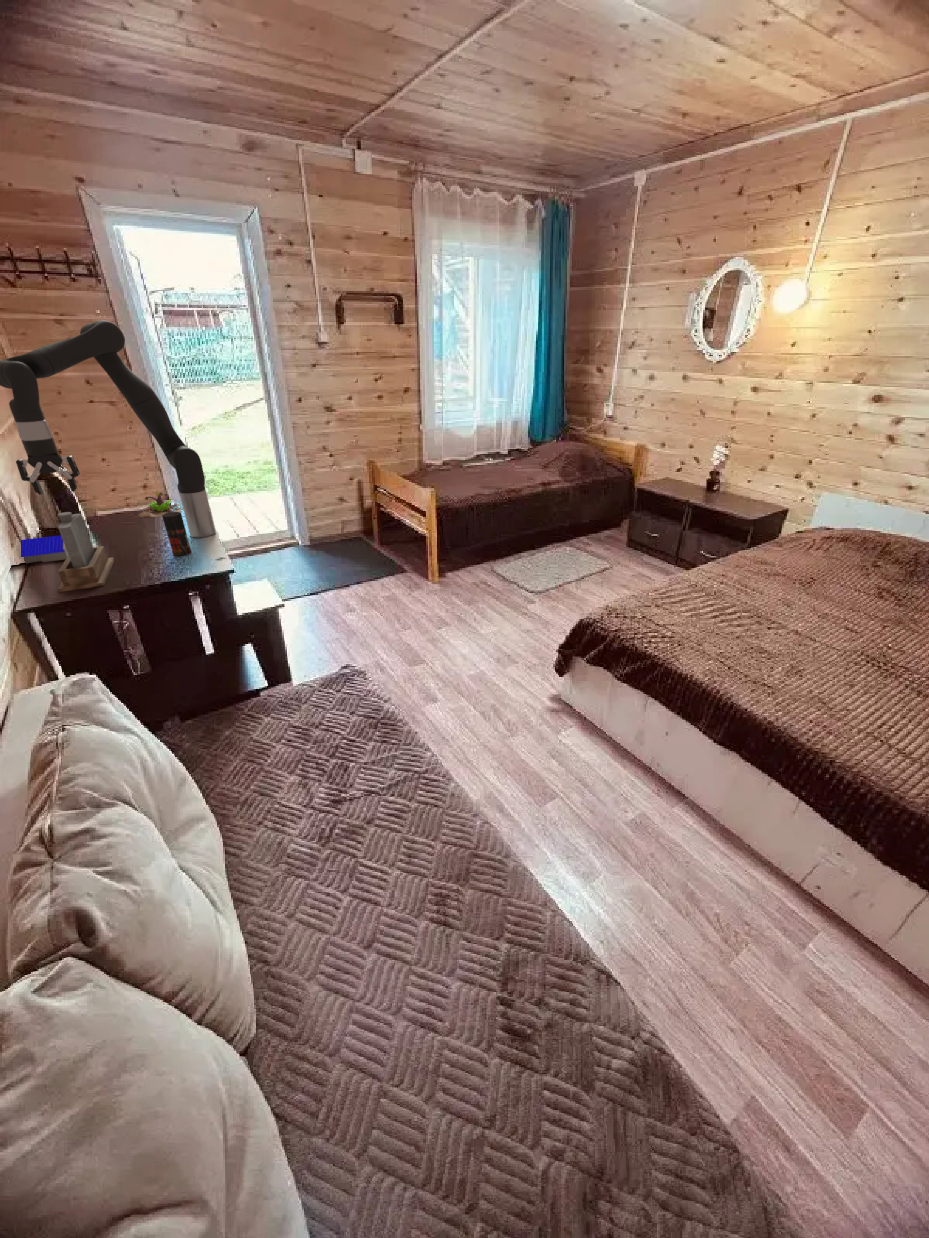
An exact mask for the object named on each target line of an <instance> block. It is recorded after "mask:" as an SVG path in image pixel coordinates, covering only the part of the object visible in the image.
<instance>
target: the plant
mask: <svg viewBox="0 0 929 1238" xmlns="http://www.w3.org/2000/svg"><path fill="white" fill-rule="evenodd" d="M155 496H156V497H157V498H155V497H154V496H145V497H144V500H145V501H149V499H152V500H154V501H150V503H146V505H147V506H148V507H144V508H143V509H141V510H142V511H143V512H142V513H140V514H139V515H138V517H139V518H150V517H151V518H160V517H162V515H163V514H165V513H169V512H182V511H184V510H183V509H182V508H183V507H179V506H180V504H171V501H172V499H167V500H166V501H164V500H163V499H162V497H164V493H163V492H160V491H156V492H155ZM177 508H178V509H177ZM152 509H154V510H152ZM144 510H145V511H144ZM162 510H163V511H162ZM181 510H182V511H181Z"/></svg>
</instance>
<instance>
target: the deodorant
mask: <svg viewBox="0 0 929 1238" xmlns="http://www.w3.org/2000/svg"><path fill="white" fill-rule="evenodd" d="M161 517H162V520H163V523H164V526H165V531H166V534H167V538H168V540H169V541H168V542H169V545H170V548H171V552H172V554H173V557H176V558H180V557H185V556H189V555H191V554H192V549H191V546H190V542H189V538H188V533H187V532H186V531H187V530H186V527H185V522H184V519H183V516H182V511H180V512H169V513H165V514H163V515H162V516H161Z"/></svg>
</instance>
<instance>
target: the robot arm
mask: <svg viewBox="0 0 929 1238" xmlns="http://www.w3.org/2000/svg"><path fill="white" fill-rule="evenodd" d="M79 332H80V333H79V334H77V335H75V336H73V337H70V338H67V339H64V340H60V341H56V342H52V343H50V344H47V345H43V346H41V347H39V348H36V349H33V350H32V351H28V352H27V353H24V354H19V355H16V356H12V357H8V358H4V359H1V360H0V387H2V388H5V389H9V390H10V389H11V391H12V397H13V398H12V399H11V400H10V401H9V402H8V405H9V410H10V412H11V415H12V416H13V420H14V422H15V425H16V429H17V432H18V437H19V439H20V441H21V443H22V446H23V448H24V450H25V453H26V456H27V459H22V458H19V459H16V461H15V463H16V466H17V469H18V472H19V476H20V479H21V481H23V482H25V481H26V482H29V483H31V485H32V489H33V491H34V492H35V493H36V494H38V495H39V496H40V495H43V494H44V492H43V489H42V486H41V484H40V481H39V480H38V477H39V476H40V474H41V473H42V474H48V473H59V474H61V475H63V476H64V477H65V478H67V483H68V486H69V489H70V491H71V492H76V491H77V489H78V485H77V483H76V480H75V478H76V477H79V475H80V474H81V472H80V471H79V468H78V465H77V464H76V462H75V458H74V456H73V455H68V456H61V454H60V453H59V451H58V447H57V446H56V443H55V440H54V437H53V434H52V431H51V429H50V426H49V424H48V422H47V420H46V418H45V415H44V412H43V410H42V407H41V403H40V393H39V391H40V390H39V384H38V379H45V378H50V377H52V376H54V375H57V374H59V373H61V372H64V371H66V370H68V369H70V368H73V367H74V366H76V365H78V364H80V363H83V362H84V361H86V360H88V359H91V358H93V359H95V361H96V362H97V363H98V364H99V365H100V367H101V368H102V369H103V370H104V372H105V373H106V375H108V376H109V378H110V379H111V380H112V382H113V384H114V385H115V386H116V388H117V389H118V391H119V392H120V393H121V394H122V396H123V397H124V399H125V400H126V402H127V404H128V405H129V407H130V408H131V409H132V410H133V412H134V413H135V415H136V416H137V418H138V419H139V420H140V422H141V423H142V424H143V426H144V427H145V428H146V430H148V432H149V433H150V434H151V435H152V437H153V438H154V439H155V440H156V443H157V444H158V445H159V447H160V448H161V451H162V452H163V454H164V456H165V458H166V459H167V462H168V463H169V465H171V467H172V468H174V469H175V472H176V477H177V484H176V485H177V490H178V495H179V498H180V502H181V505H182V508H183V510H182V511H183V513H184V517H185V521H186V525H187V529H188V532H189V533H188V534H189V535H190V537H192V538H206V537H210V536H214V535H217V532H216V531H217V530H216V526H215V522H214V518H213V514H212V508H211V507H210V503H209V499H208V498H209V497H208V494H207V490H206V485H205V484H206V479H205V478H206V477H205V474H204V468H203V464H202V461H201V457H200V455H199V454H198V453H197V451H196V450H194V449H192V448H190V447H188V446H187V445H186V444H185V443H184V442H183V440H182V439H181V438H180V436H179V434H177V432H176V430H175V429H174V426H173V424H172V423H171V420H170V417H169V414H168V412H167V410H166V408H165V406H164V405H163V403H162V401H161V399H159V397H158V396H157V394H156V392H155V391H154V389H153V388H152V387H151V386H150V385H149V384H148V383H147V382H145V381H144V380H143V378H140V377H139V376H138V375H137V374H135V372H133V371H132V370H131V369H130V368H129V367H128V366H127V365H126V364H125V362H124V361H123V359H122V358H121V357H120V355H119V352H120V351H122V350H123V349H124V347H125V345H126V344H125V343H126V339H125V334H124V332H123V331H122V330H121V328H120V327H119V326H118V325H117V324H115V323H114V322H112V321H109V320H104V319H103V320H97V321H94V322H91V323H87V324H84V325H83V326H82V327H81V329H80V330H79ZM63 462H65V464H67V465H69V467H70V469H71V472H70V471H69V470H68V469H67V468H65V467H64V466H63V465H62V464H63ZM28 464H29V465H30V466H31V468H33V471H32V473H31V476H30V475H28V474H29V473H28V470H27V468H26V467H28Z"/></svg>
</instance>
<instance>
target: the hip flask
mask: <svg viewBox="0 0 929 1238" xmlns="http://www.w3.org/2000/svg"><path fill="white" fill-rule="evenodd" d="M57 516H58V518H59V520H60V521H61V522H60V523H59V524H58V527H57V528H58V531H59V534H60V536H62V539H63V542H64V544H65V547H66V549H67V552H68V555H69V557H70V560H71V562H72V565H73V567H74V568H80V567H87V566H88V565H89V563H90V561H91V559H92V557H93V555H94V554H95V552H94V549H93V547H94V546H93V544H92V541H91V538H90V536H89V533H88V531H87V530H88V529H87V528H86V525H85V522H84V520H83V519H84V518H83V517H82V513H74V514H73V513H72V512H70V511H65V512H60V513H57Z"/></svg>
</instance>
